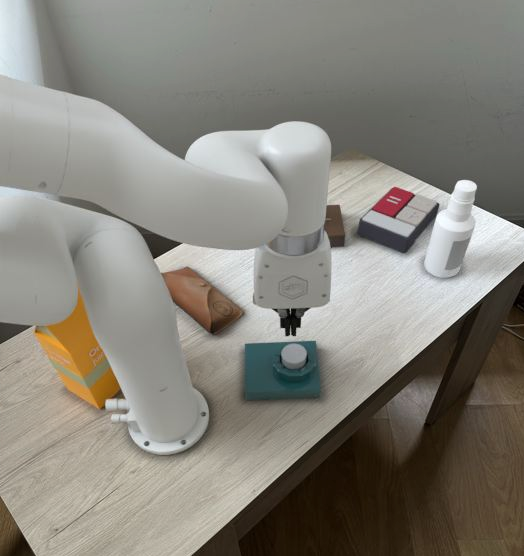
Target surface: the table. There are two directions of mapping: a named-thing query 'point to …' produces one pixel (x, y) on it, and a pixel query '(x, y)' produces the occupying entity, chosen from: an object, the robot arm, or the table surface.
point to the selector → (334, 226)
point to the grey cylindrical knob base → (280, 372)
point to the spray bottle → (452, 232)
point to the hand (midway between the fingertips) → (290, 329)
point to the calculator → (398, 219)
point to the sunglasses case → (201, 300)
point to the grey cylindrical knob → (294, 356)
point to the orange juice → (79, 357)
